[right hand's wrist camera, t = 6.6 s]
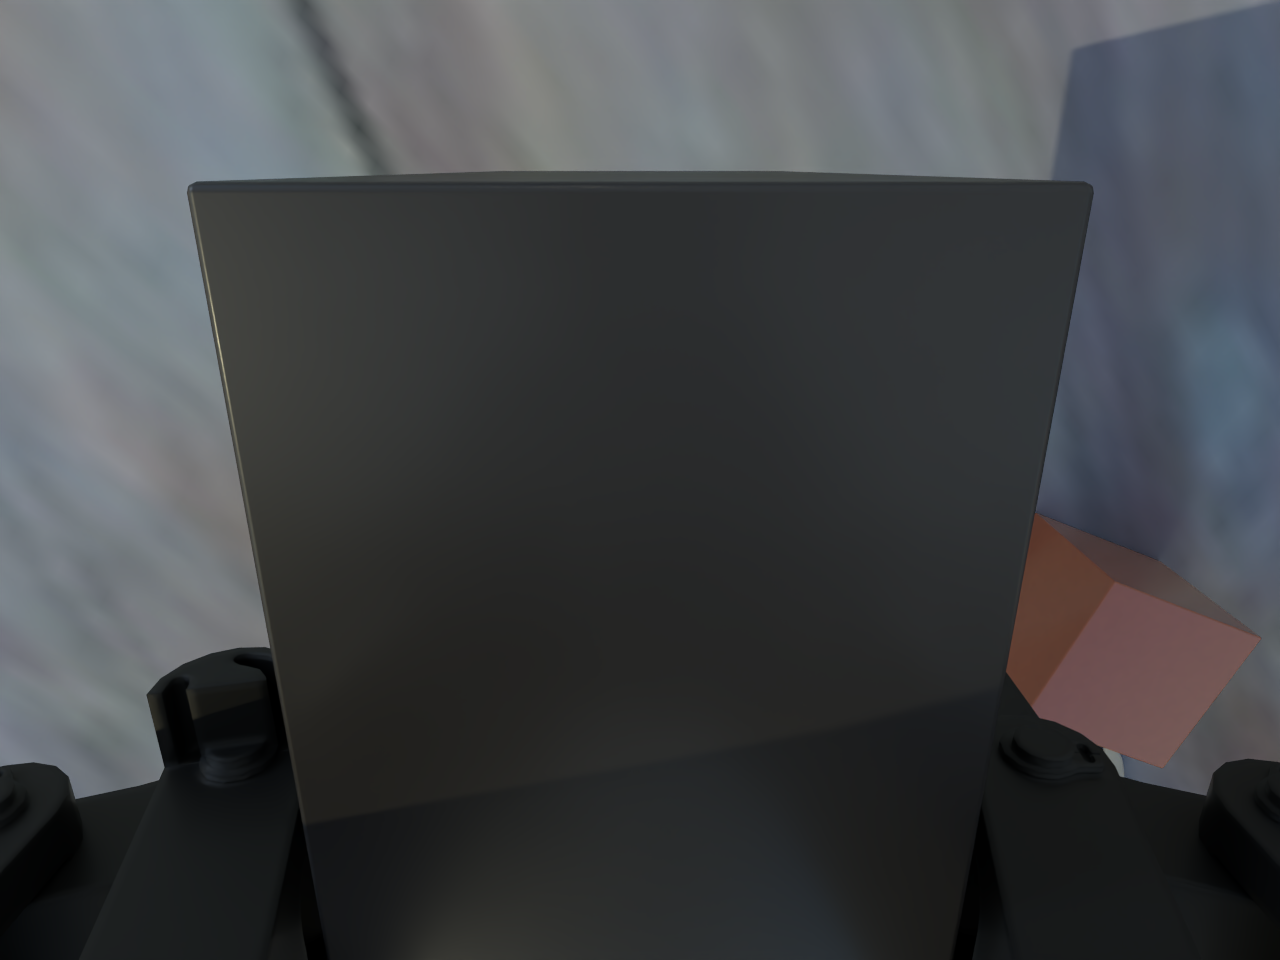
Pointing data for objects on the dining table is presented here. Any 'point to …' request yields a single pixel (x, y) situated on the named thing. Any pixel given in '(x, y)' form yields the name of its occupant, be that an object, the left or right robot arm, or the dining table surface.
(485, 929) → the bar
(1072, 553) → the terracotta block
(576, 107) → the dining table surface
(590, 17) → the dining table surface
